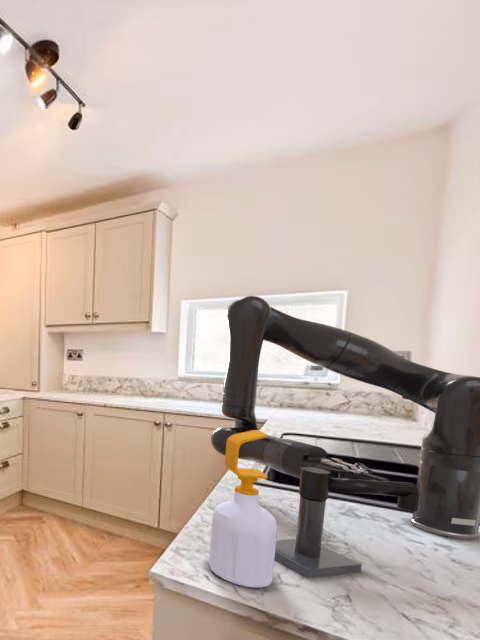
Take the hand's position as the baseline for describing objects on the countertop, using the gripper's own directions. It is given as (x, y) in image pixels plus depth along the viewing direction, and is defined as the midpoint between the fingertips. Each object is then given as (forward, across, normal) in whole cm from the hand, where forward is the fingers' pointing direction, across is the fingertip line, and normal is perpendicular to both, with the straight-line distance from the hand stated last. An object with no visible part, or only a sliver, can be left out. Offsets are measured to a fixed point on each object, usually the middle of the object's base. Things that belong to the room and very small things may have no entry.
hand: (386, 485), depth 74 cm
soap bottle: (-1, -28, +15) cm, 31 cm away
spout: (0, -5, +3) cm, 6 cm away
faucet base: (-3, -12, +14) cm, 19 cm away
